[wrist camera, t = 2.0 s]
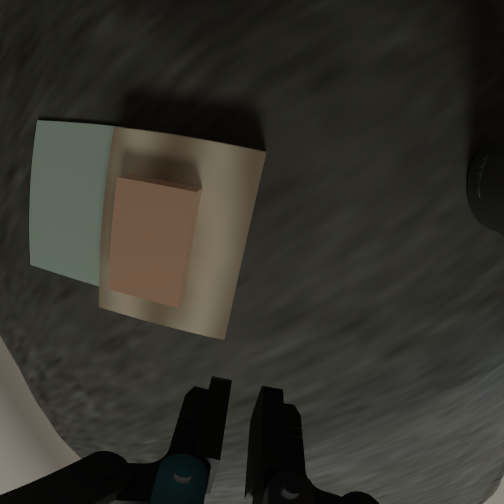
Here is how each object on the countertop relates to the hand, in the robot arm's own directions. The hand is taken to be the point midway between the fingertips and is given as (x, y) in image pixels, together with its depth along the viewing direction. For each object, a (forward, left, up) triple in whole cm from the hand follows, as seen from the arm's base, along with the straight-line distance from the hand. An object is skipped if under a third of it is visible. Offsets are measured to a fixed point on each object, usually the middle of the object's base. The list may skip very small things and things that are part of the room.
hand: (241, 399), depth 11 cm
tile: (+8, 0, -15) cm, 17 cm away
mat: (+19, 0, -19) cm, 27 cm away
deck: (+7, 0, -19) cm, 20 cm away
